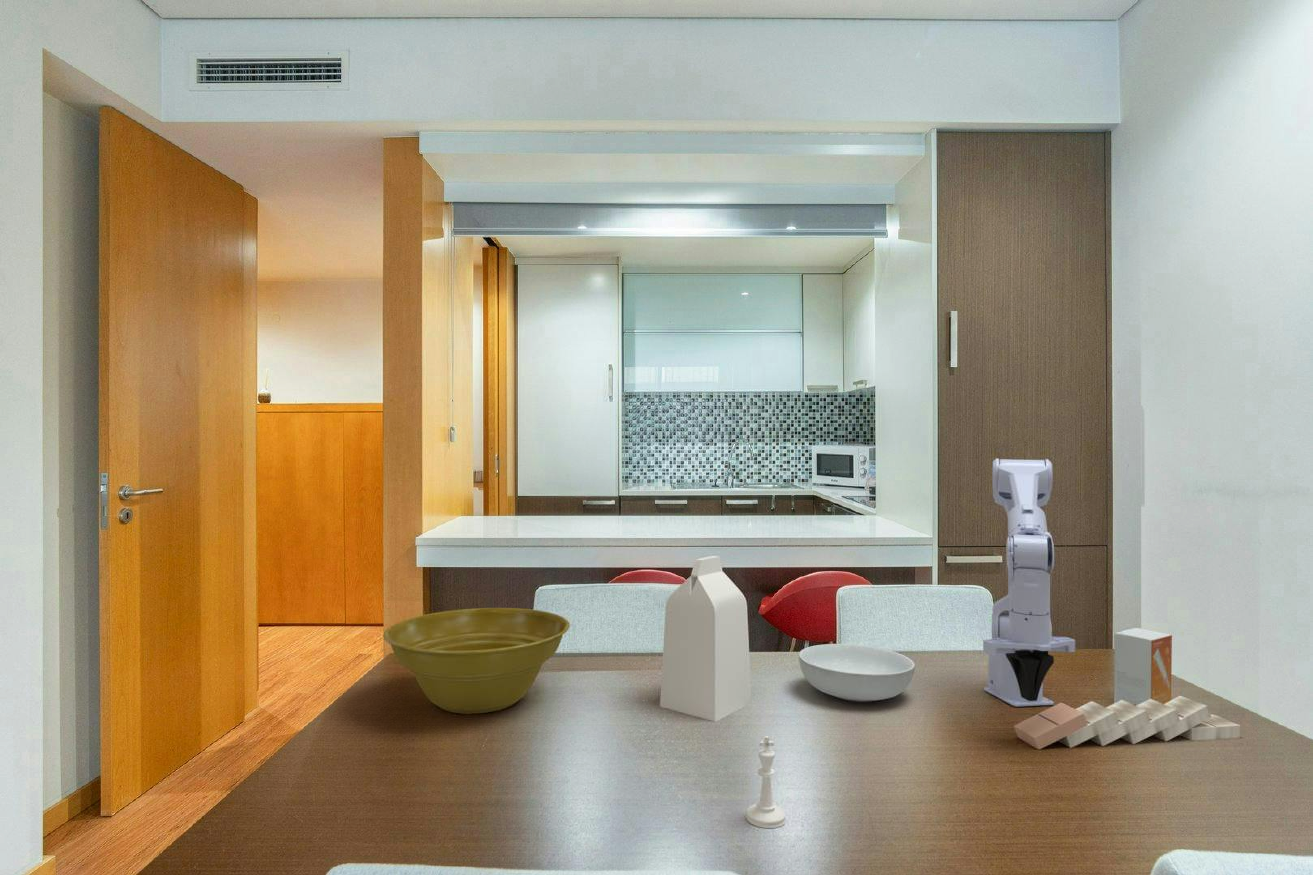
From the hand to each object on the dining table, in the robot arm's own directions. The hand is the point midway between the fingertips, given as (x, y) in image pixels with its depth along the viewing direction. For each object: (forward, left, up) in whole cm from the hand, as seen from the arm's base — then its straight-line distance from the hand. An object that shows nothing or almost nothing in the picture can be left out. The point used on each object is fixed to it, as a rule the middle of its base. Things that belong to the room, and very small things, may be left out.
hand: (1029, 698), depth 117 cm
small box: (-13, +32, -7) cm, 35 cm away
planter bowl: (-31, -86, -7) cm, 92 cm away
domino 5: (0, +27, -6) cm, 27 cm away
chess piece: (+17, -48, -7) cm, 51 cm away
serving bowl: (-26, -17, -7) cm, 32 cm away
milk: (-24, -46, -7) cm, 52 cm away
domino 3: (0, +16, -6) cm, 17 cm away
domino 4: (0, +22, -6) cm, 23 cm away
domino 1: (0, +5, -6) cm, 8 cm away
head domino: (0, 0, -6) cm, 6 cm away
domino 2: (0, +10, -6) cm, 12 cm away
